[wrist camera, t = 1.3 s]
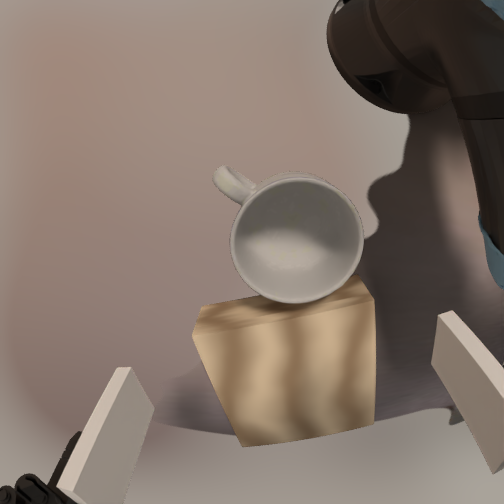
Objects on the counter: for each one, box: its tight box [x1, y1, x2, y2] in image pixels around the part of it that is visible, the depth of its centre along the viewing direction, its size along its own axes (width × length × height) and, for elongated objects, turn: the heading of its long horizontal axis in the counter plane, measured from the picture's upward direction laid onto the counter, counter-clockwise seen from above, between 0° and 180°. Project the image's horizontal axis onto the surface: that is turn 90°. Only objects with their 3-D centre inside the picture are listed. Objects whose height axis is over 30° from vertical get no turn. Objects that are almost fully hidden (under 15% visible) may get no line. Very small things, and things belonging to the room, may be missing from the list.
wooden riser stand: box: [192, 274, 376, 447], centre depth 35 cm, size 18×20×6 cm
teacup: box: [212, 165, 364, 303], centre depth 27 cm, size 14×11×8 cm
